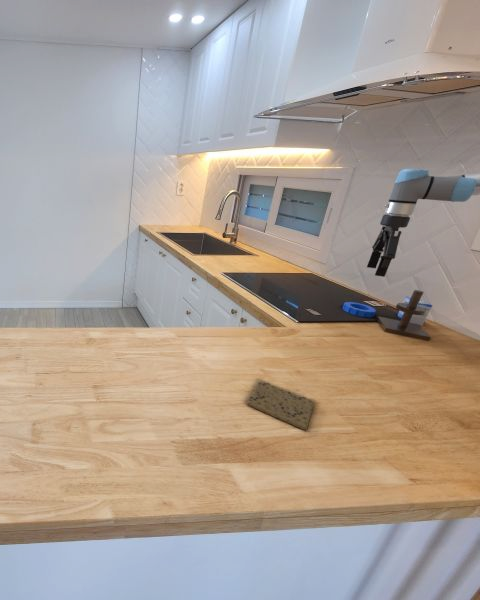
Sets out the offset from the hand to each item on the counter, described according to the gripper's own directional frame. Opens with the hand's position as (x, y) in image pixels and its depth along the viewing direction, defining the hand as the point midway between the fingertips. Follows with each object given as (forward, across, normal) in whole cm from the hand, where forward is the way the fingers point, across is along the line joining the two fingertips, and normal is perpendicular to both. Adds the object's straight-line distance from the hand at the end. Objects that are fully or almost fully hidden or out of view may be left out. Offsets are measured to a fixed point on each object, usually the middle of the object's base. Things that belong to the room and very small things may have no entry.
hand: (375, 271), depth 129 cm
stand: (+17, +11, +10) cm, 23 cm away
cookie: (+17, +85, -28) cm, 91 cm away
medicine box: (+18, -2, +16) cm, 24 cm away
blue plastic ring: (+17, 0, 0) cm, 17 cm away
